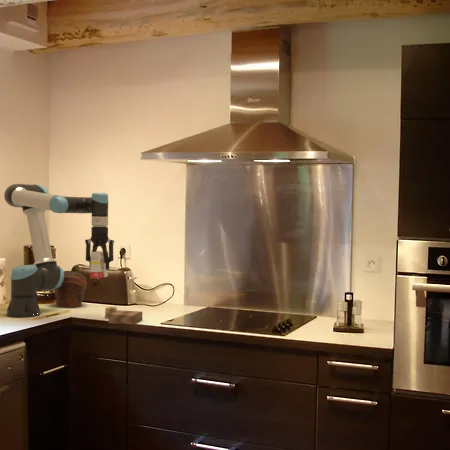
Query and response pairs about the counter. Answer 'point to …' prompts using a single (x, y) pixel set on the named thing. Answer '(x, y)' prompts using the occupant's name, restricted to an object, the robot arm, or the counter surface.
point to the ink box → (97, 265)
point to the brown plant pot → (71, 290)
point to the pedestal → (125, 317)
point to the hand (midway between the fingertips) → (99, 276)
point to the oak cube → (109, 311)
